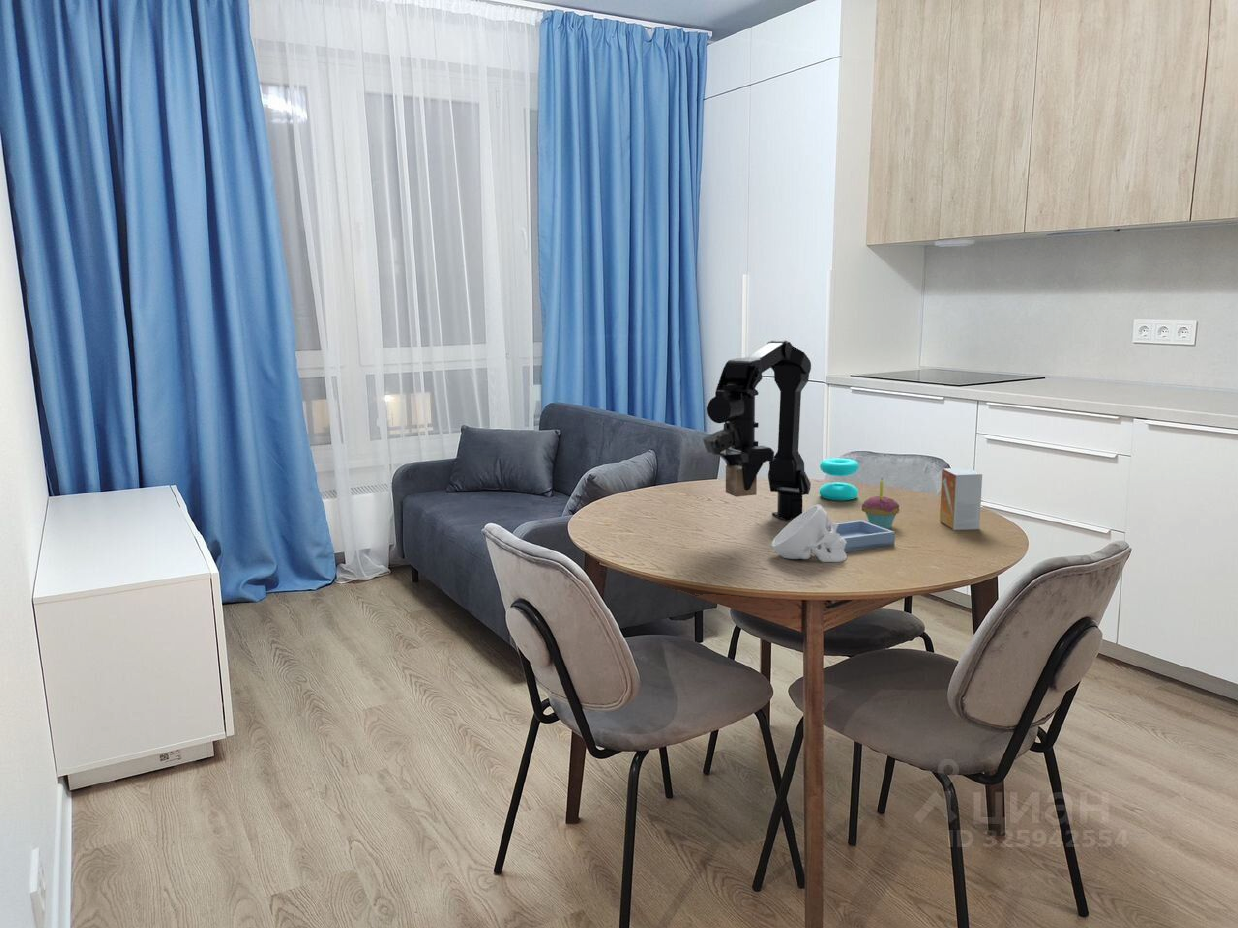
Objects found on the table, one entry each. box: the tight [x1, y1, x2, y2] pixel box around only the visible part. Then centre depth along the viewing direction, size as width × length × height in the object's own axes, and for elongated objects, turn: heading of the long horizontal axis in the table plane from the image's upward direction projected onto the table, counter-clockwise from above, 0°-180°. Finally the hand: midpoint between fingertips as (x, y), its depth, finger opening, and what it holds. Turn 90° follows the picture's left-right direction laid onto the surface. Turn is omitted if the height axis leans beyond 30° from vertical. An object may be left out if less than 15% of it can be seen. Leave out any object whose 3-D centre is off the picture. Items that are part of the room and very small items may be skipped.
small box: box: [939, 467, 983, 531], centre depth 211 cm, size 8×6×13 cm
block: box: [725, 465, 758, 498], centre depth 201 cm, size 5×5×6 cm
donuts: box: [819, 457, 860, 502], centre depth 242 cm, size 10×10×10 cm
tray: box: [836, 519, 896, 553], centre depth 199 cm, size 12×14×3 cm
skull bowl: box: [771, 503, 848, 563], centre depth 188 cm, size 10×14×12 cm
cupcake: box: [861, 477, 900, 530], centre depth 211 cm, size 9×8×12 cm
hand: (741, 487), depth 201 cm, fingers closed on block, 5 cm apart
